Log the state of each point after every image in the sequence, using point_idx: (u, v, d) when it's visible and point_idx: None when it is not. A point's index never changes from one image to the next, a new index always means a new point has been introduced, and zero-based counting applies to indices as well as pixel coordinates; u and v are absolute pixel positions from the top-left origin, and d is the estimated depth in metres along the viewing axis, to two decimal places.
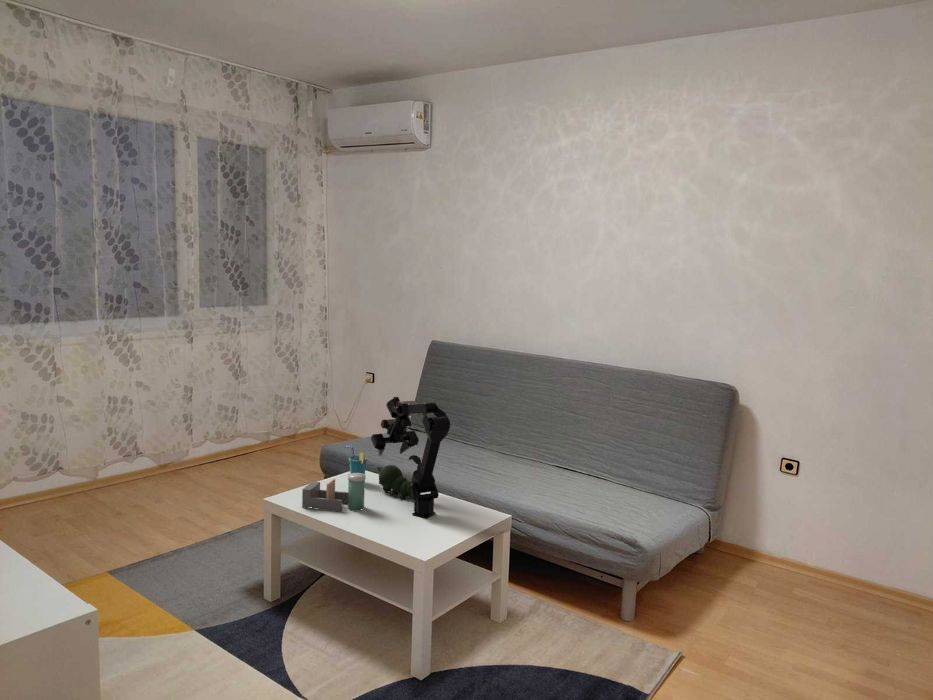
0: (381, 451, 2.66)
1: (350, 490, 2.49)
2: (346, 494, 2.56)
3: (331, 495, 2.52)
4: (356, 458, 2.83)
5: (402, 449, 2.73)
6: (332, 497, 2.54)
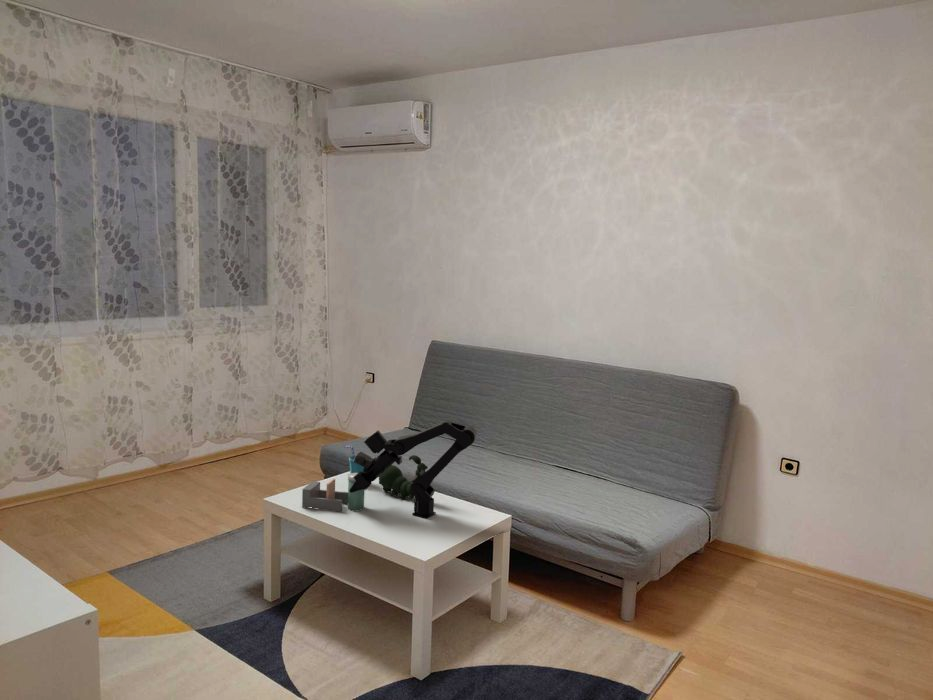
0: None
1: None
2: (346, 494, 2.56)
3: (331, 495, 2.52)
4: None
5: None
6: (332, 497, 2.54)
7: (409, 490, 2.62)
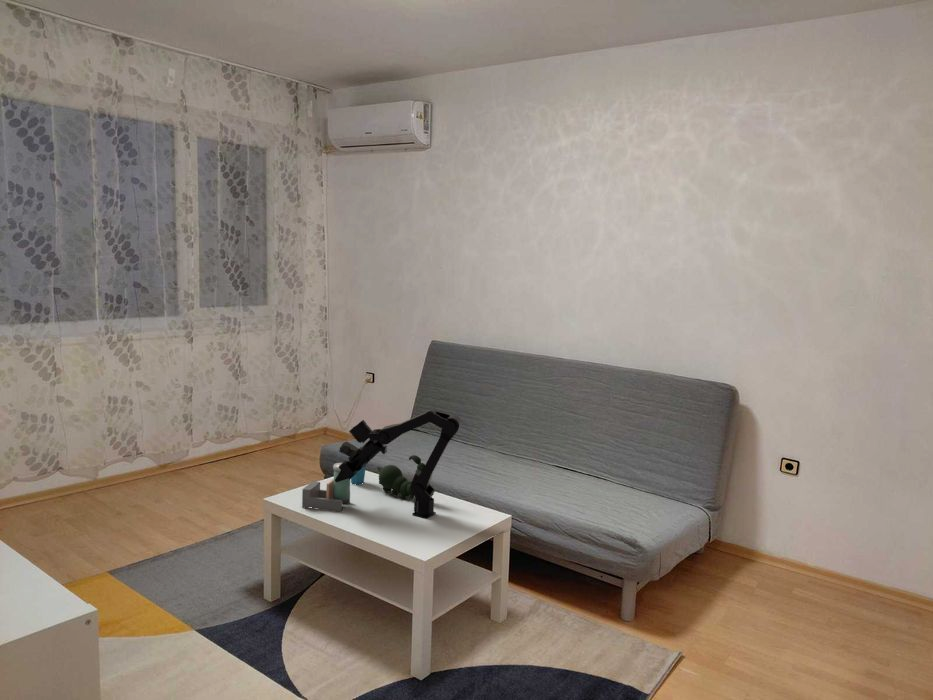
0: (347, 478, 2.47)
1: None
2: None
3: (331, 495, 2.52)
4: None
5: None
6: (332, 497, 2.54)
7: (409, 490, 2.62)
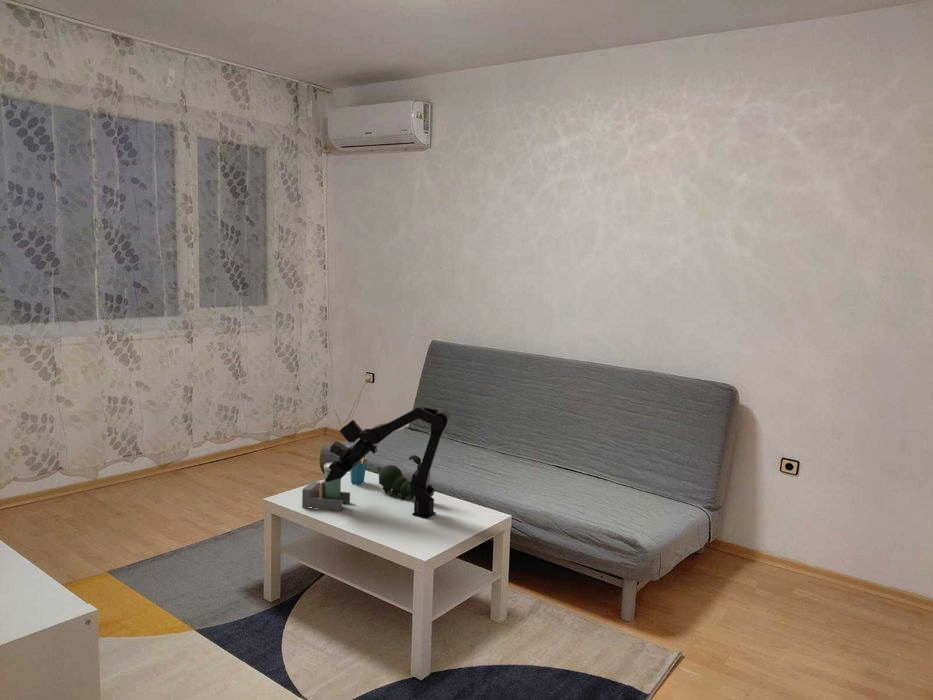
0: (337, 478, 2.47)
1: None
2: (346, 494, 2.56)
3: None
4: None
5: None
6: None
7: (409, 490, 2.62)
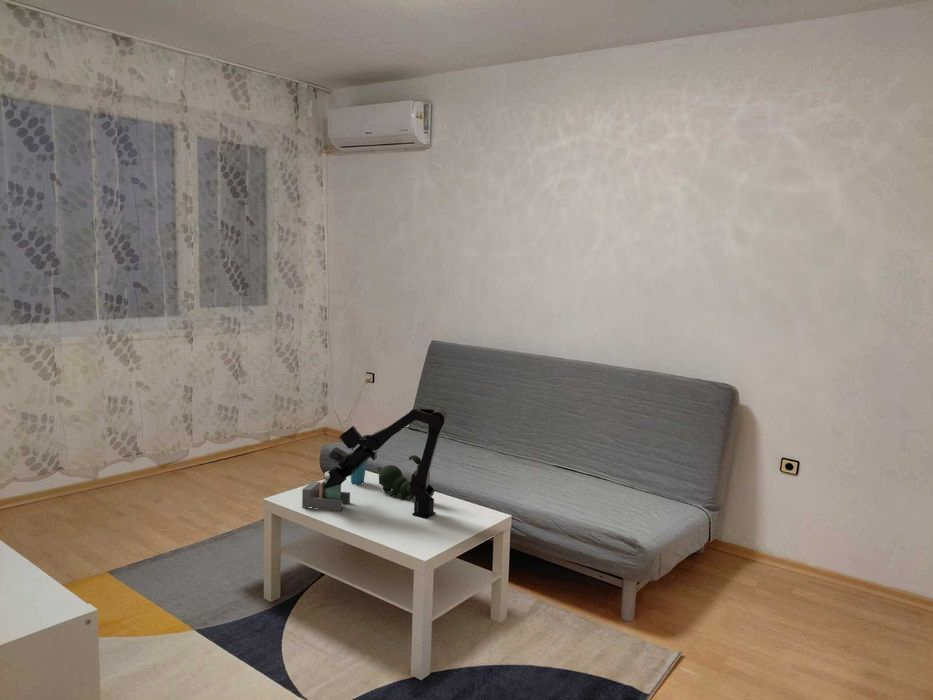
0: None
1: (326, 488, 2.50)
2: (346, 494, 2.56)
3: (324, 494, 2.53)
4: None
5: None
6: None
7: (409, 490, 2.62)
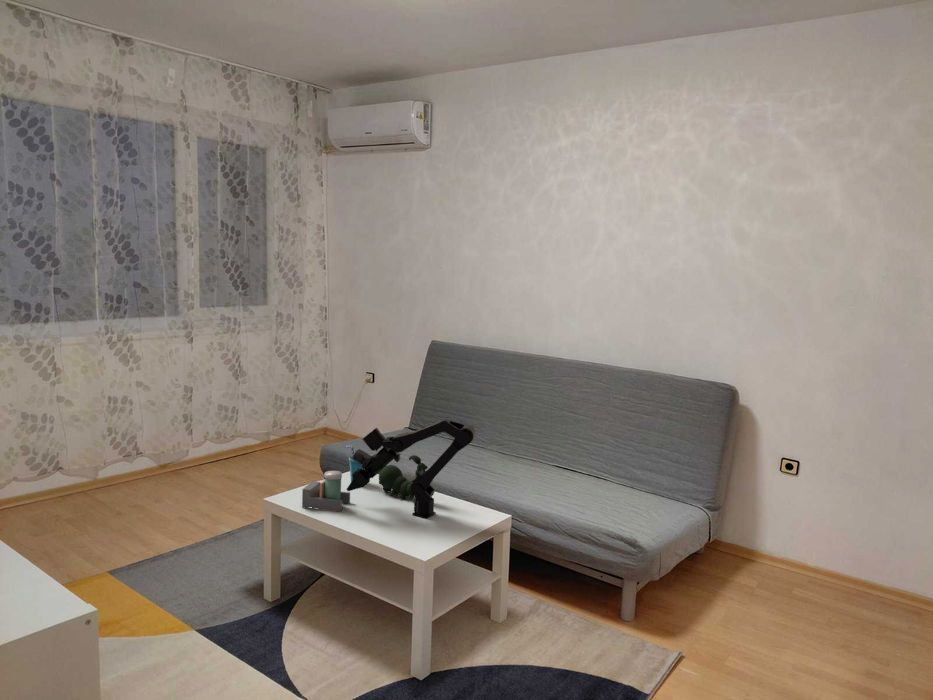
0: (359, 487, 2.45)
1: (326, 488, 2.50)
2: (346, 494, 2.56)
3: (324, 494, 2.53)
4: None
5: None
6: None
7: (409, 490, 2.62)
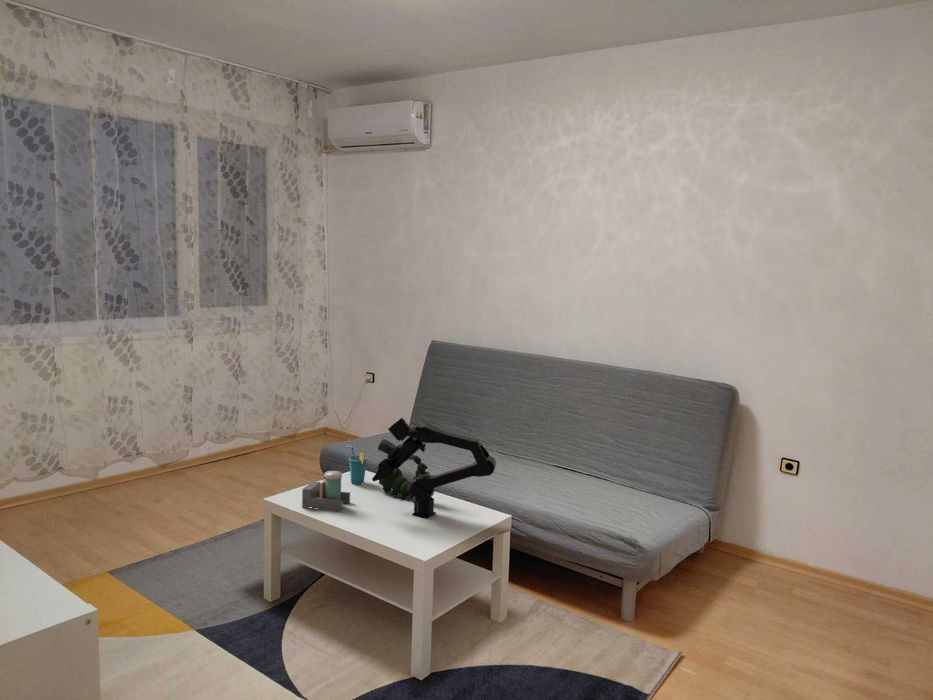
0: None
1: (326, 488, 2.50)
2: (346, 494, 2.56)
3: (324, 494, 2.53)
4: (356, 458, 2.84)
5: None
6: None
7: (409, 490, 2.62)
